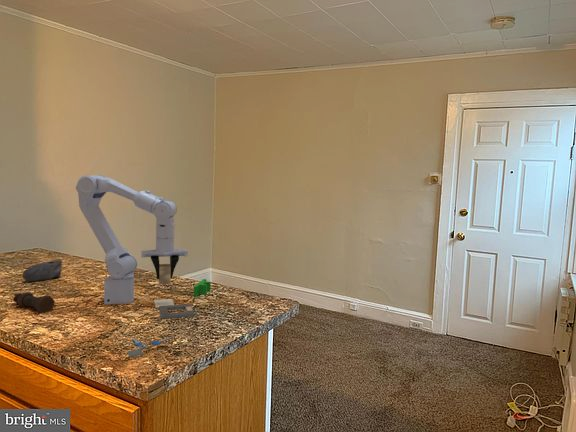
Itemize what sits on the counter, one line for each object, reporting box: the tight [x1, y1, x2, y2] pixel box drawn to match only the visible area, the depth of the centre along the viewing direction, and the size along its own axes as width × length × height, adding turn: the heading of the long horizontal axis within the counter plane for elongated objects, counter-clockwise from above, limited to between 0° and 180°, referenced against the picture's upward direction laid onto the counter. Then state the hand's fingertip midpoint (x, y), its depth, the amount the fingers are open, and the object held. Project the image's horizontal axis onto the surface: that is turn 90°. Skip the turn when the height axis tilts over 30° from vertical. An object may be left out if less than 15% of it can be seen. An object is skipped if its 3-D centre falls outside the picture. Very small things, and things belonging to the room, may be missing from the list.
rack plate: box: [158, 303, 196, 320], centre depth 133 cm, size 10×10×2 cm
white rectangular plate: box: [153, 298, 175, 309], centre depth 141 cm, size 6×8×1 cm
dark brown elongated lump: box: [12, 291, 55, 314], centre depth 133 cm, size 6×5×15 cm
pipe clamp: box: [192, 278, 212, 298], centre depth 155 cm, size 11×4×5 cm, turn 173°
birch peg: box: [158, 263, 172, 285], centre depth 140 cm, size 4×4×6 cm
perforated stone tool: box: [22, 259, 63, 282], centre depth 165 cm, size 15×5×7 cm, turn 142°
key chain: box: [126, 336, 172, 357], centre depth 109 cm, size 14×8×1 cm, turn 159°
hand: (164, 277), depth 140 cm, fingers closed on birch peg, 3 cm apart
